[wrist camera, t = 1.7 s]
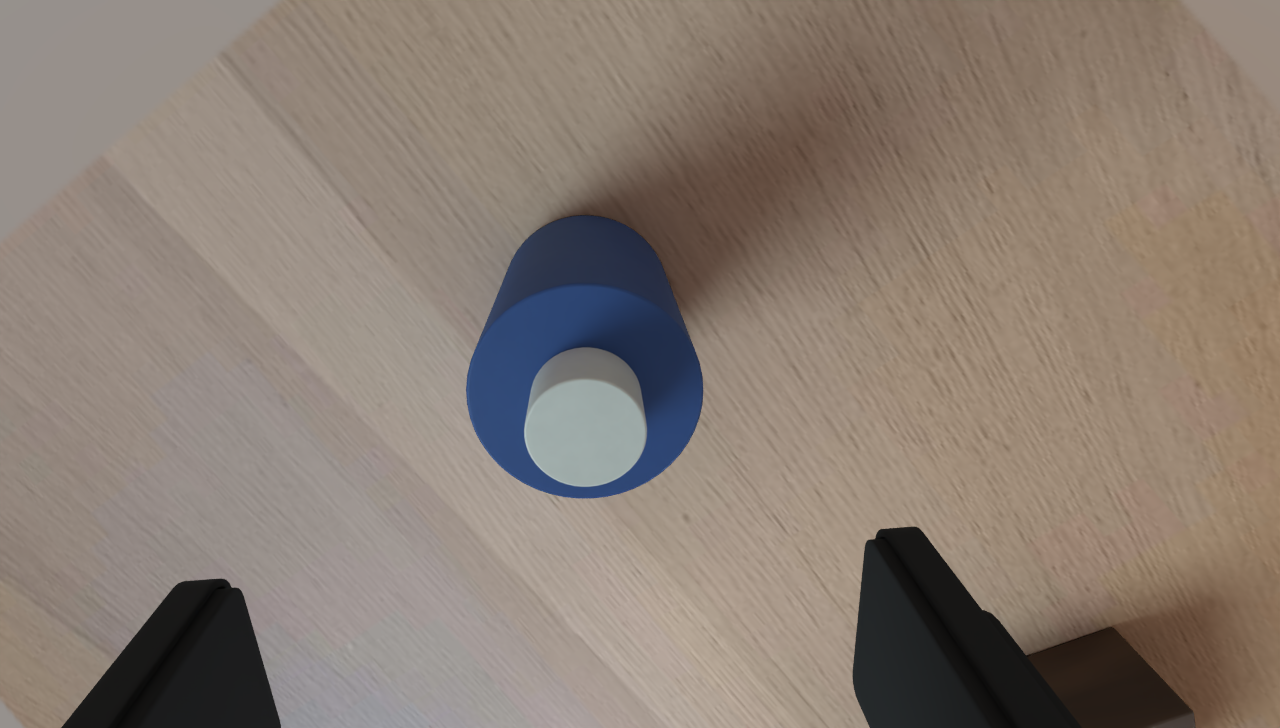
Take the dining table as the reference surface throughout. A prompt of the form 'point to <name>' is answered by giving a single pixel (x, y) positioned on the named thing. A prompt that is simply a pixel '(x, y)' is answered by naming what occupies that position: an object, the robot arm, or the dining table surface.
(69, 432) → the dining table surface
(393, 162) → the dining table surface
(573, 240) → the bottle
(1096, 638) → the block
